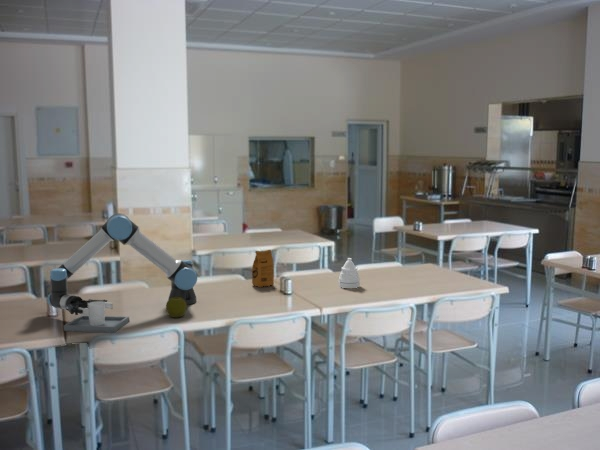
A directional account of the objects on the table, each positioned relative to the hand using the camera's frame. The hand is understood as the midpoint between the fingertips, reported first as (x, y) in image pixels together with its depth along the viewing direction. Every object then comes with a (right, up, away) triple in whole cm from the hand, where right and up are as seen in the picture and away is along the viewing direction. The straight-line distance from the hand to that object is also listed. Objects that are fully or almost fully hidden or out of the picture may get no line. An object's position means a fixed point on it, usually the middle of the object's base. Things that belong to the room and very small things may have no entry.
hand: (100, 309), depth 283 cm
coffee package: (+70, +2, +91) cm, 115 cm away
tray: (-2, -8, +3) cm, 9 cm away
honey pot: (+123, +1, +88) cm, 151 cm away
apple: (+32, -7, +19) cm, 38 cm away
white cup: (-2, -7, +2) cm, 8 cm away
